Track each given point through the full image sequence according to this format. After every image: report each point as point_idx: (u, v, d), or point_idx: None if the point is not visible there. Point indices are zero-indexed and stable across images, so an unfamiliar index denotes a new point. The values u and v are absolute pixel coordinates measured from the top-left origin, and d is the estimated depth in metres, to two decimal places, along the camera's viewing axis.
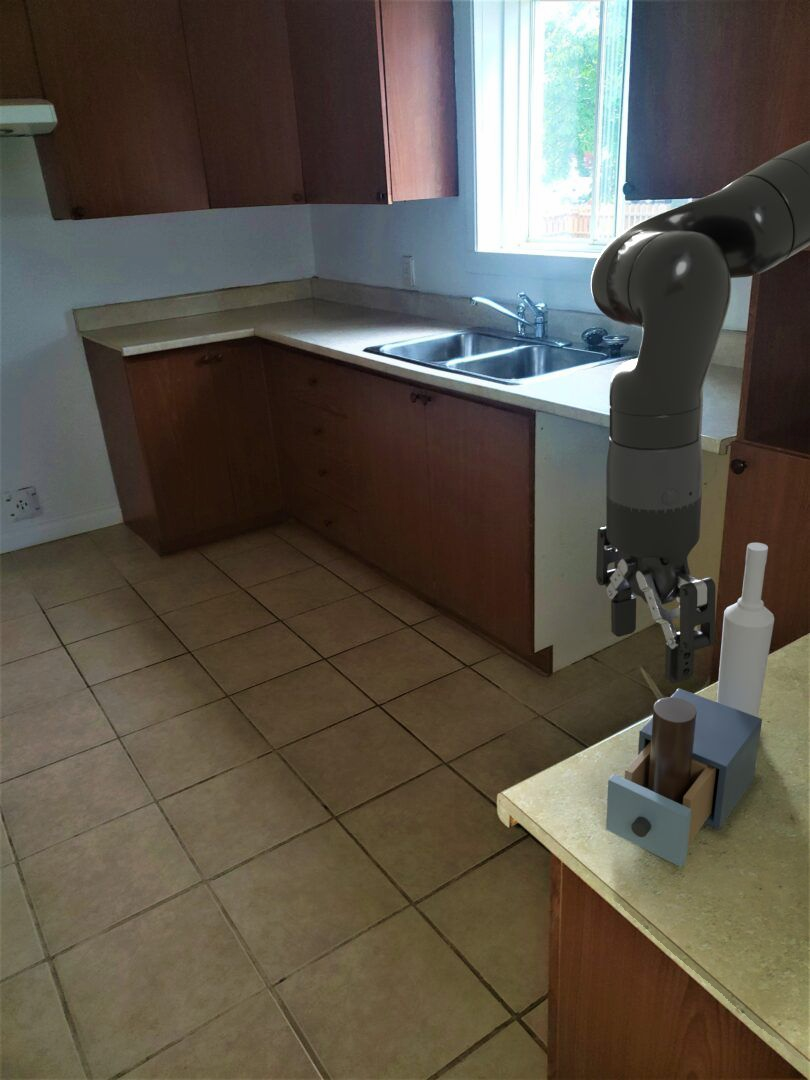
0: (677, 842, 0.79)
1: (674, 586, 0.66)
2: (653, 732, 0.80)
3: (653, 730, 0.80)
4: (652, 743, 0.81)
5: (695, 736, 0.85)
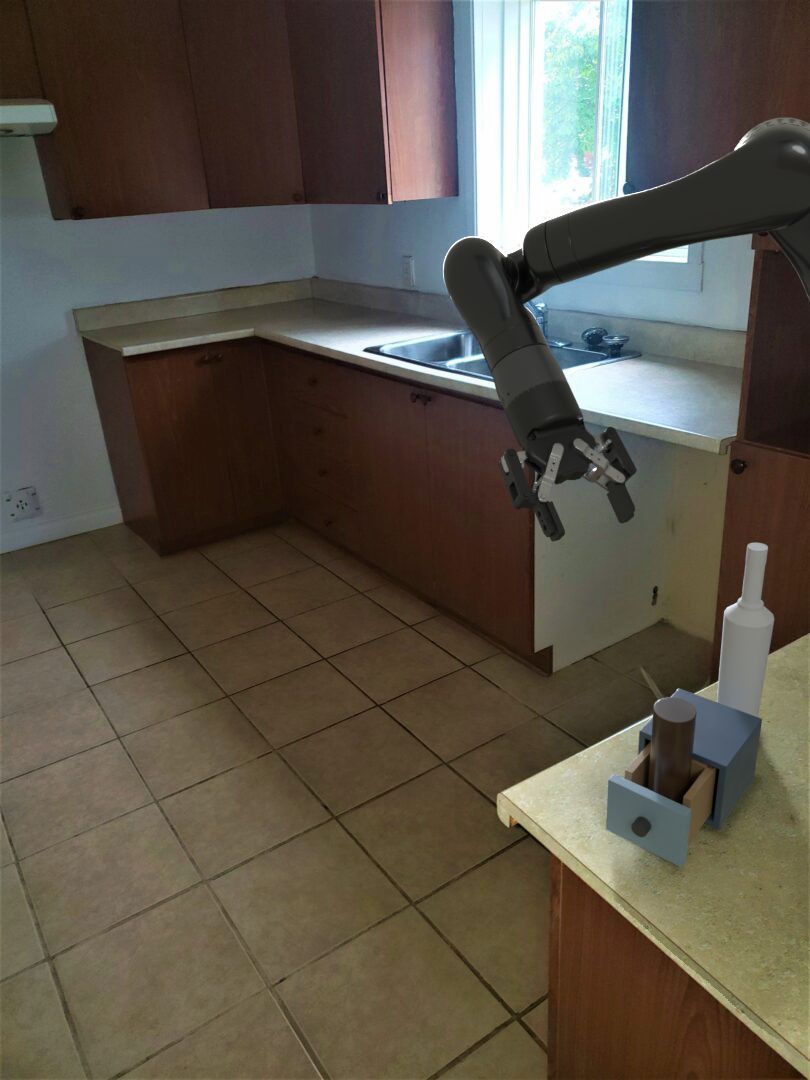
0: (677, 842, 0.79)
1: (525, 462, 0.87)
2: (653, 732, 0.80)
3: (653, 730, 0.80)
4: (652, 743, 0.81)
5: (695, 736, 0.85)
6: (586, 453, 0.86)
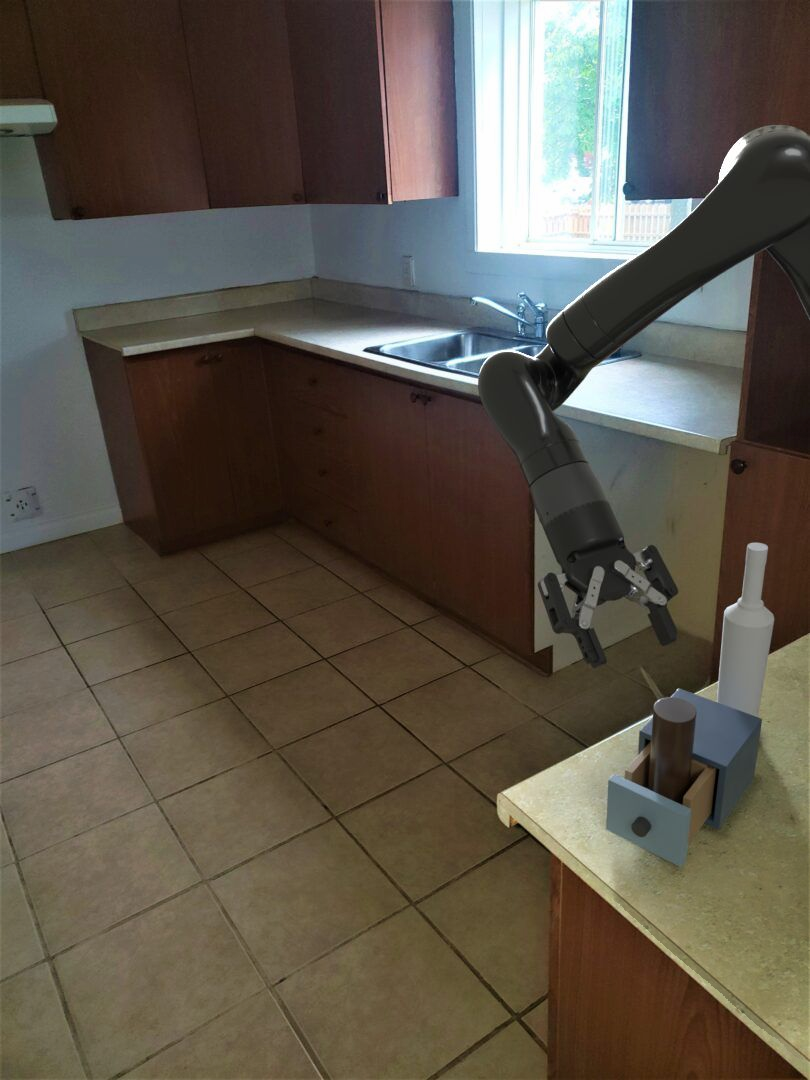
0: (677, 842, 0.79)
1: (564, 584, 0.86)
2: (653, 732, 0.80)
3: (653, 730, 0.80)
4: (652, 743, 0.81)
5: (695, 736, 0.85)
6: (627, 575, 0.85)
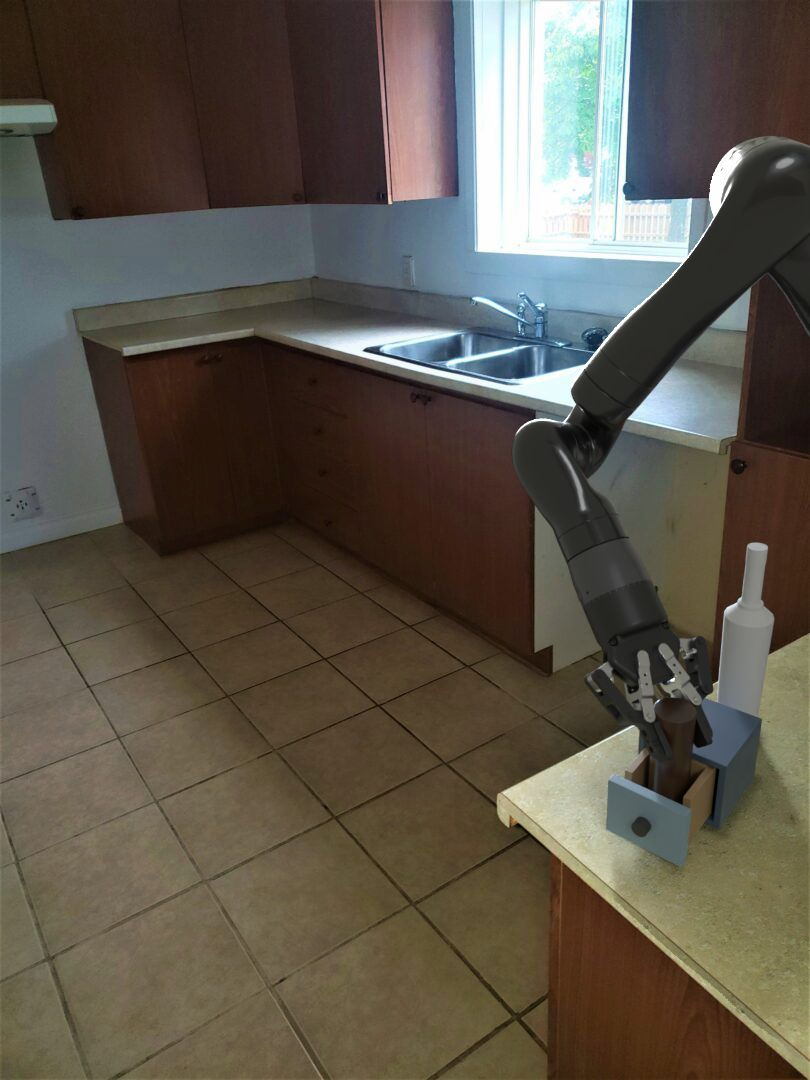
0: (677, 842, 0.79)
1: None
2: None
3: None
4: None
5: None
6: (668, 662, 0.81)
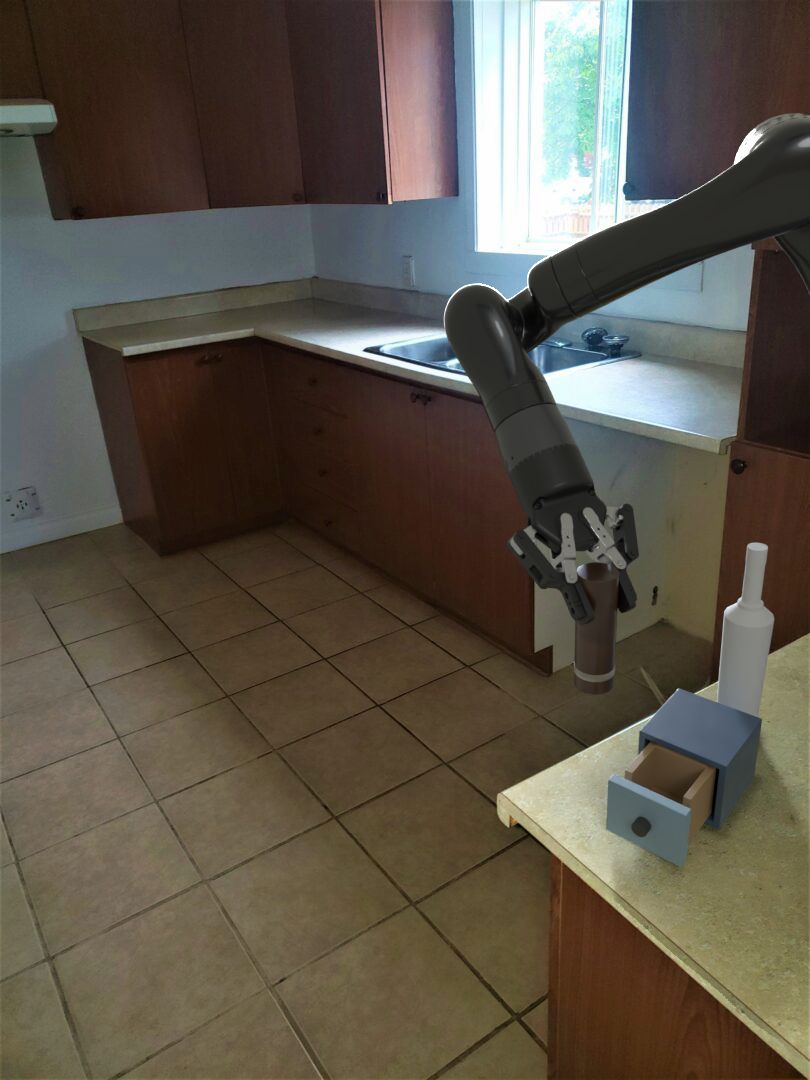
0: (677, 842, 0.79)
1: None
2: None
3: None
4: None
5: (695, 736, 0.85)
6: (592, 525, 0.79)
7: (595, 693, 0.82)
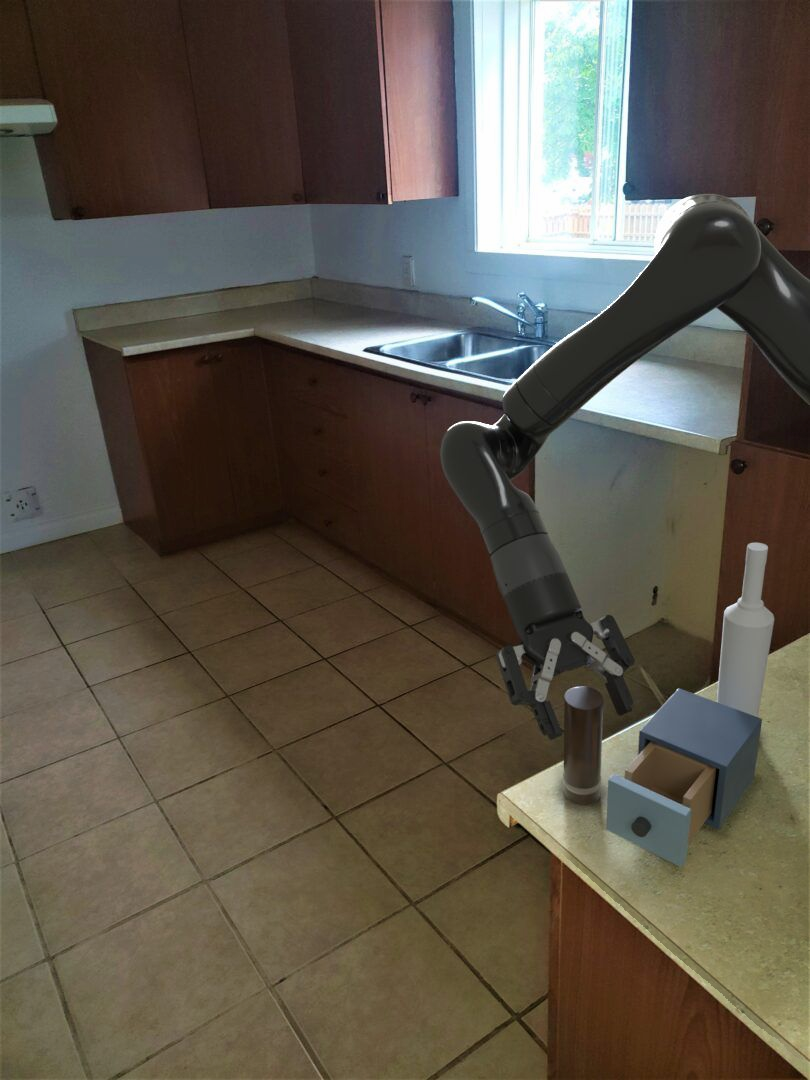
0: (677, 842, 0.79)
1: (523, 655, 0.87)
2: (564, 719, 0.86)
3: (564, 717, 0.86)
4: (564, 729, 0.87)
5: (695, 736, 0.85)
6: (583, 647, 0.86)
7: (582, 804, 0.89)
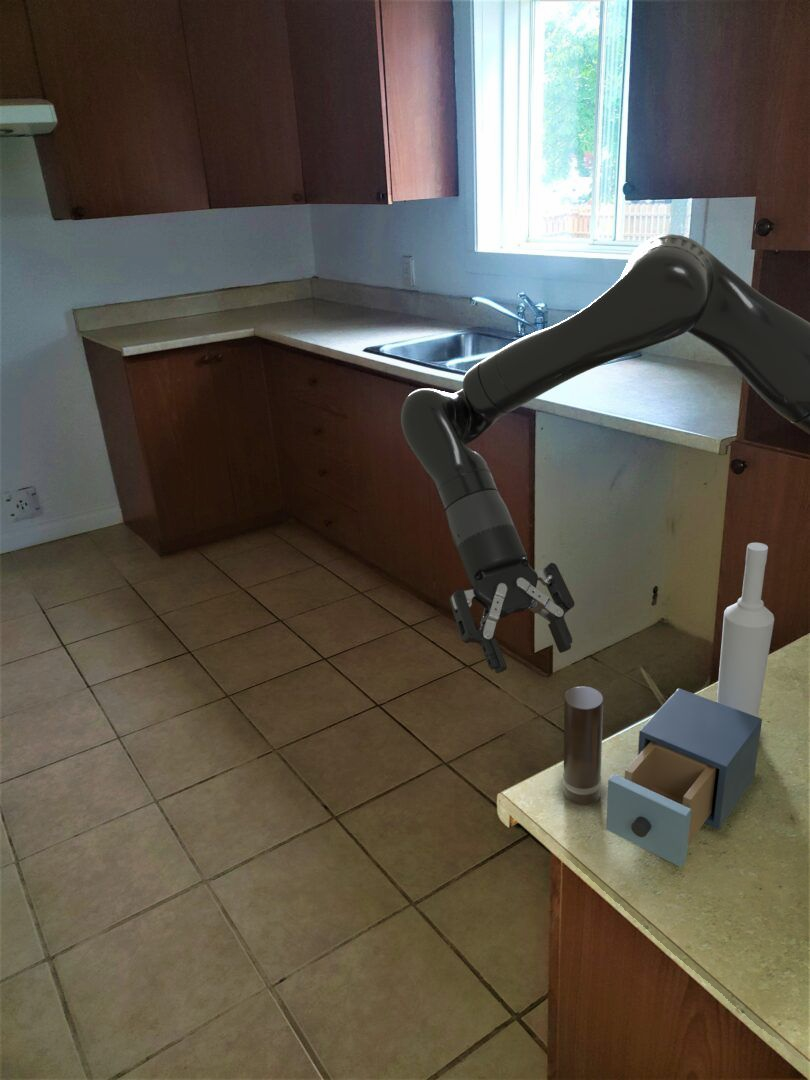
0: (677, 842, 0.79)
1: None
2: (564, 719, 0.86)
3: (564, 717, 0.86)
4: (564, 729, 0.87)
5: (695, 736, 0.85)
6: (527, 591, 0.96)
7: (582, 804, 0.89)
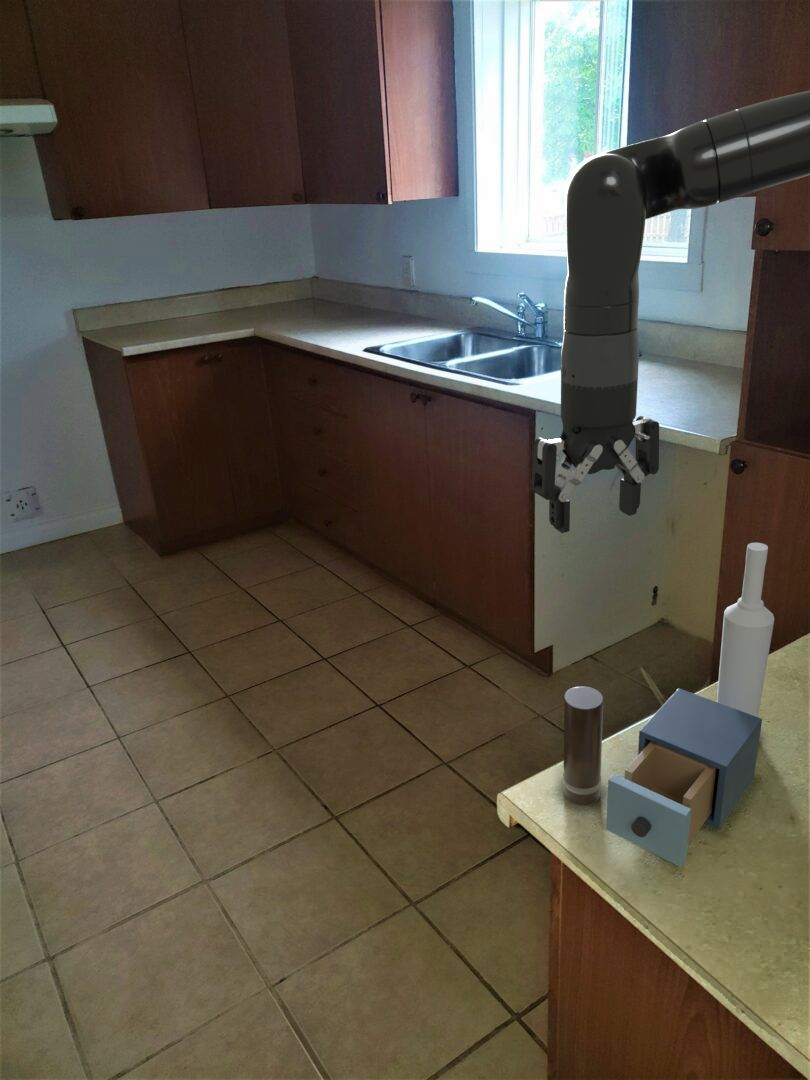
0: (677, 842, 0.79)
1: None
2: (564, 719, 0.86)
3: (564, 717, 0.86)
4: (564, 729, 0.87)
5: (695, 736, 0.85)
6: (620, 455, 0.84)
7: (582, 804, 0.89)
